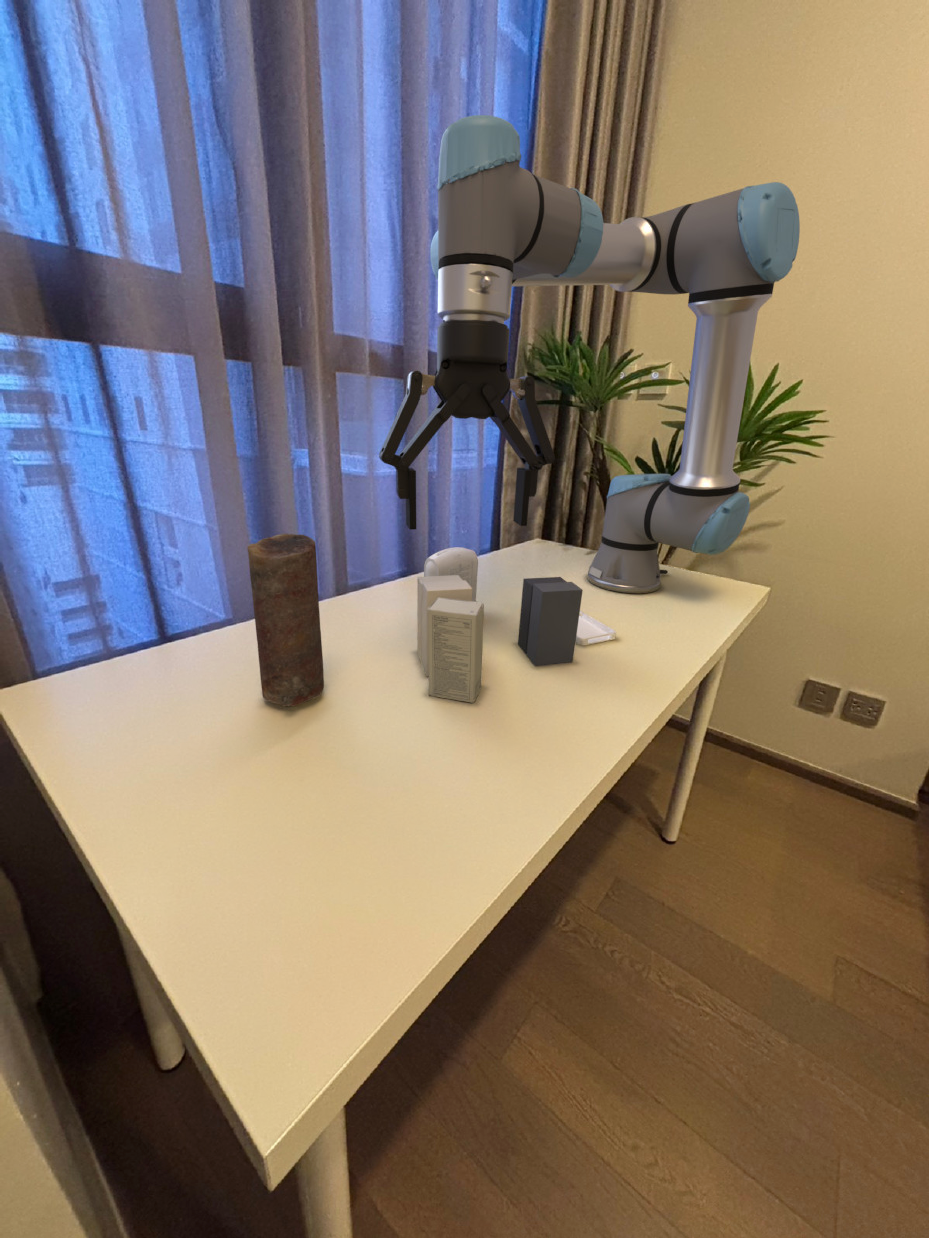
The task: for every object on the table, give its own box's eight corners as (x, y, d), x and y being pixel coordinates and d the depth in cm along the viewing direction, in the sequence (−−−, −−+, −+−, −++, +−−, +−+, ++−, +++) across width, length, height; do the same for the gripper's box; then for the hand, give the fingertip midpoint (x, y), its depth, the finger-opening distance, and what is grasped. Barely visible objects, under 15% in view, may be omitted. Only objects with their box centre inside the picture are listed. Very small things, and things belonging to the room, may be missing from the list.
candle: (339, 693, 64) (328, 539, 56) (294, 721, 58) (275, 553, 51) (296, 676, 68) (281, 529, 60) (250, 701, 62) (226, 541, 54)
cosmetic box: (481, 687, 67) (486, 602, 62) (473, 704, 63) (478, 615, 58) (436, 679, 68) (438, 595, 64) (425, 696, 64) (426, 608, 60)
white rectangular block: (456, 649, 77) (458, 571, 72) (468, 672, 71) (472, 588, 66) (417, 652, 76) (417, 573, 71) (426, 676, 69) (427, 590, 64)
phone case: (529, 612, 92) (580, 646, 80) (530, 605, 92) (581, 638, 79) (562, 607, 95) (616, 639, 83) (563, 600, 95) (618, 631, 82)
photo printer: (462, 606, 93) (465, 541, 89) (479, 613, 91) (482, 546, 86) (419, 620, 87) (419, 550, 82) (435, 628, 84) (436, 556, 79)
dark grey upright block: (552, 641, 81) (560, 573, 76) (572, 662, 75) (582, 589, 70) (517, 644, 80) (523, 575, 75) (534, 666, 73) (542, 591, 69)
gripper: (353, 307, 46) (364, 536, 54) (599, 326, 52) (575, 529, 61) (348, 318, 52) (359, 521, 61) (567, 334, 59) (549, 515, 67)
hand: (467, 525), depth 61 cm, fingers open, 13 cm apart
